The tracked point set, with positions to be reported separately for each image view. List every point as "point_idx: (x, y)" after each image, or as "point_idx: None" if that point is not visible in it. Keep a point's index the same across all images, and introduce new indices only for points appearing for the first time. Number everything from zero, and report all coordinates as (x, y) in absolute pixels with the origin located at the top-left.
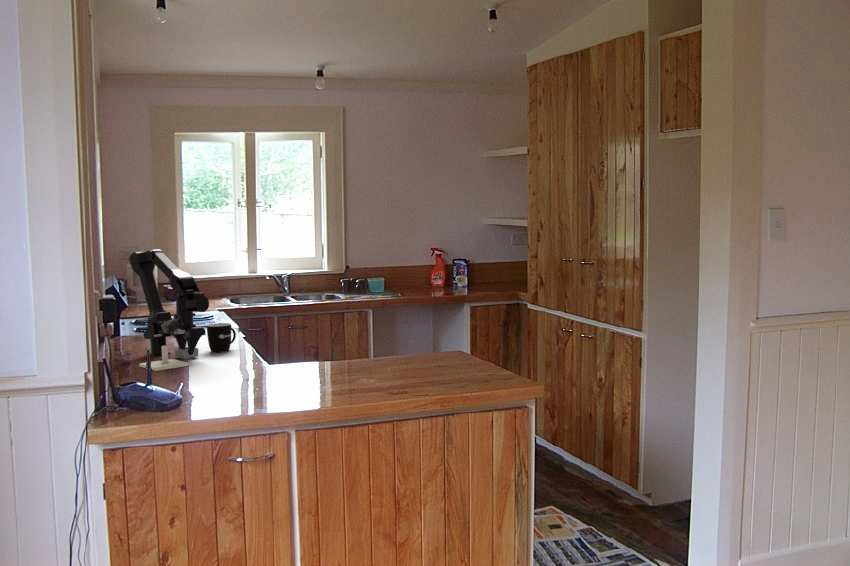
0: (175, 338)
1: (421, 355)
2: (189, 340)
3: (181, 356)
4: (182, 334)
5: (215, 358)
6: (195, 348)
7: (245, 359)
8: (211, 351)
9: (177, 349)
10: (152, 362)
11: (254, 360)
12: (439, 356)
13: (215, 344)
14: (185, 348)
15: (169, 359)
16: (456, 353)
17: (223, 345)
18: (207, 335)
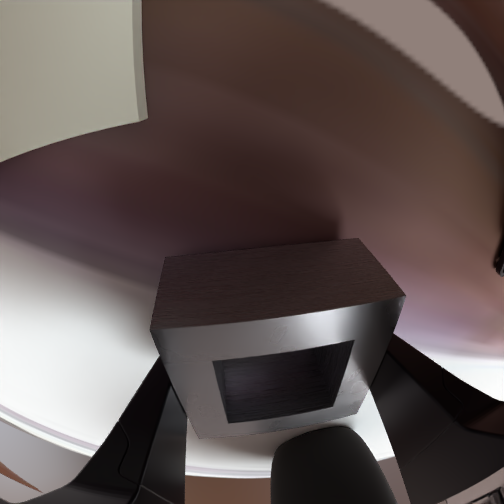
0: (498, 401)
1: (22, 480)
2: (77, 492)
3: (201, 266)
4: (444, 489)
5: (108, 404)
6: (196, 428)
7: (35, 428)
8: (333, 428)
9: (326, 306)
10: None
11: (11, 424)
12: (13, 477)
13: (294, 475)
14: (336, 380)
15: (117, 74)
16: (29, 487)
17: (271, 479)
18: (370, 495)
